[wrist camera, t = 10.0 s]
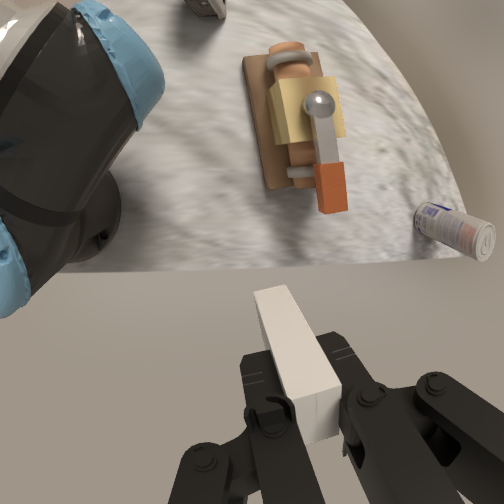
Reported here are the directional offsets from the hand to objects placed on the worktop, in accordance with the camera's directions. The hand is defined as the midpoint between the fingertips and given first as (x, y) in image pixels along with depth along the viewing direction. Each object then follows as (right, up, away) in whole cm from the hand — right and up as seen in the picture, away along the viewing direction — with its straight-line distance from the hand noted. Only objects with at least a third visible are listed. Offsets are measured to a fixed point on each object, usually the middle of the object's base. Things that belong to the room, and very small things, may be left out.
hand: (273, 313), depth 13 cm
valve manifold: (+4, +21, +22) cm, 30 cm away
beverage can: (+29, +9, +30) cm, 42 cm away
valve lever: (+6, +13, +15) cm, 21 cm away
